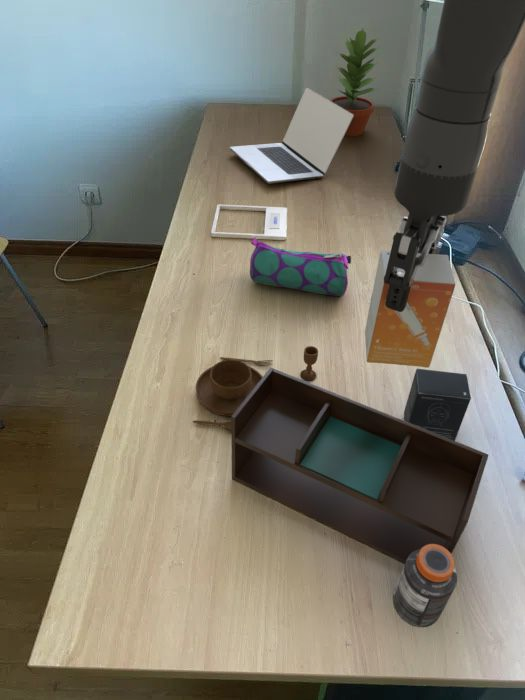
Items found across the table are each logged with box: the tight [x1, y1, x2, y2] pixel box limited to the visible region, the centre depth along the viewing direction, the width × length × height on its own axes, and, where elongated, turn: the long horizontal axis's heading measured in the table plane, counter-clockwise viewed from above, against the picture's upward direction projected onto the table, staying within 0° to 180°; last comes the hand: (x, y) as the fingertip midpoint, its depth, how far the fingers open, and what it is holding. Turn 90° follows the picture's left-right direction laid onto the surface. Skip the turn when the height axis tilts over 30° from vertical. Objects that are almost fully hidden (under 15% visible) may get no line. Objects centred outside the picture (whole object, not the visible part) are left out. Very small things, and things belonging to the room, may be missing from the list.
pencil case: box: [249, 237, 352, 297], centre depth 118 cm, size 21×9×10 cm, turn 78°
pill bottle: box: [392, 544, 458, 628], centre depth 67 cm, size 6×6×11 cm
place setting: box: [191, 345, 319, 431], centre depth 94 cm, size 18×20×6 cm
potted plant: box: [329, 27, 379, 137], centre depth 179 cm, size 15×15×30 cm
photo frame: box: [210, 203, 288, 241], centre depth 140 cm, size 15×1×18 cm
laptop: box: [229, 86, 354, 185], centre depth 161 cm, size 26×24×18 cm
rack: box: [230, 367, 489, 565], centre depth 77 cm, size 31×11×14 cm, turn 61°
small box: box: [364, 249, 456, 369], centre depth 69 cm, size 8×6×13 cm
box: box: [403, 368, 472, 441], centre depth 88 cm, size 8×6×11 cm
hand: (406, 290), depth 67 cm, fingers closed on small box, 8 cm apart
